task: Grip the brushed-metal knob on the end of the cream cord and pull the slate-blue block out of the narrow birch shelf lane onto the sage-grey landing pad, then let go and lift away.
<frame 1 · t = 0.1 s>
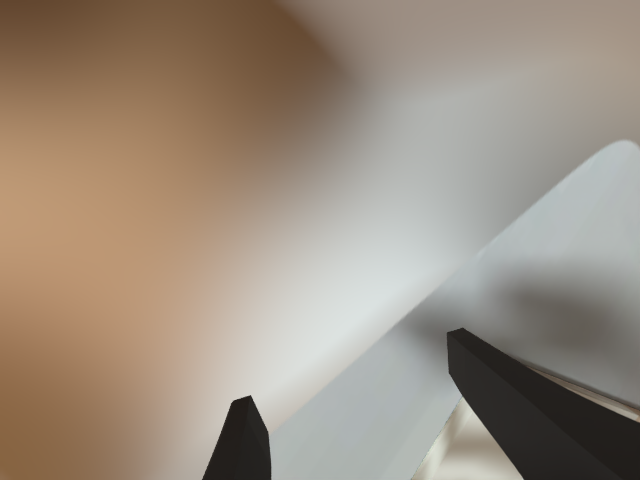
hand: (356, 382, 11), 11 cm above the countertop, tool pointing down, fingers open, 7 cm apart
shelf lane: (550, 461, 29), on the countertop
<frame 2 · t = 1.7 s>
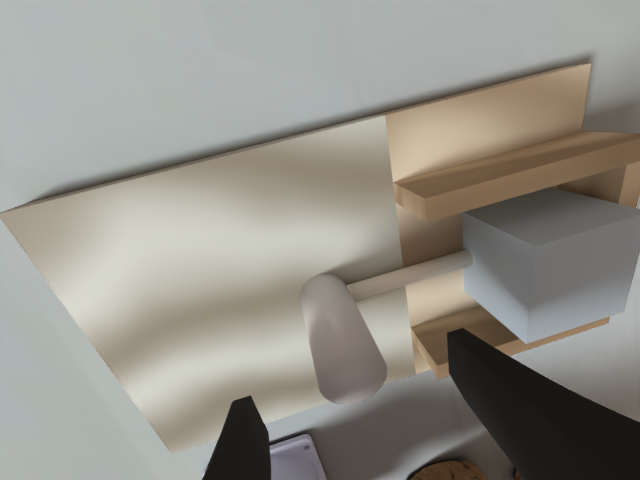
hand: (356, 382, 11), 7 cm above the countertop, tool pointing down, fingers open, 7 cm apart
shelf lane: (343, 273, 17), on the countertop
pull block: (504, 241, 17), point 1 cm above the countertop, touching shelf lane
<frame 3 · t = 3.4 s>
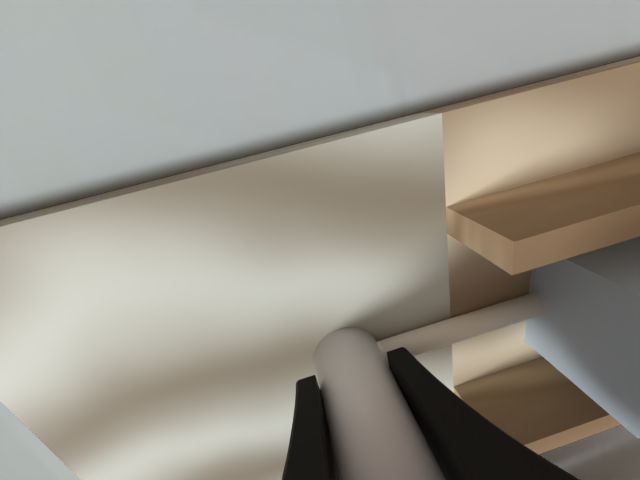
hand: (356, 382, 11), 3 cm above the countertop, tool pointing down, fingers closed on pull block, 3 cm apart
shelf lane: (369, 319, 13), on the countertop
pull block: (581, 279, 13), point 1 cm above the countertop, touching gripper, shelf lane
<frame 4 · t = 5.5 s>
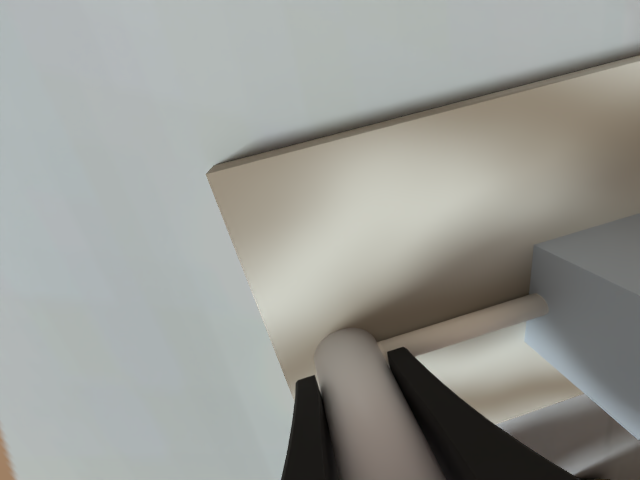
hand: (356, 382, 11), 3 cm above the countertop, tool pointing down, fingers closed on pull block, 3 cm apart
shelf lane: (549, 262, 14), on the countertop
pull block: (582, 280, 13), point 2 cm above the countertop, touching gripper, shelf lane
when the fingers open (3 cm above the countertop, at t = 6.9 s): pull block stays where it is, resting on shelf lane.
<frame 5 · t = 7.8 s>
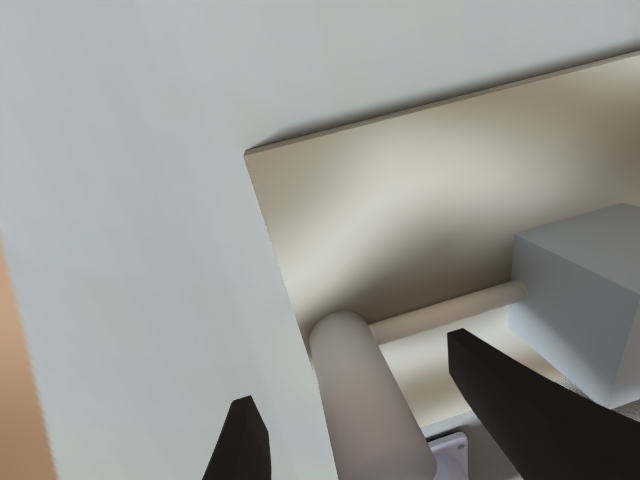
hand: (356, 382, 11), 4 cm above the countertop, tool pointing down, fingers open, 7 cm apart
shelf lane: (551, 247, 15), on the countertop
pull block: (560, 268, 13), point 1 cm above the countertop, touching shelf lane
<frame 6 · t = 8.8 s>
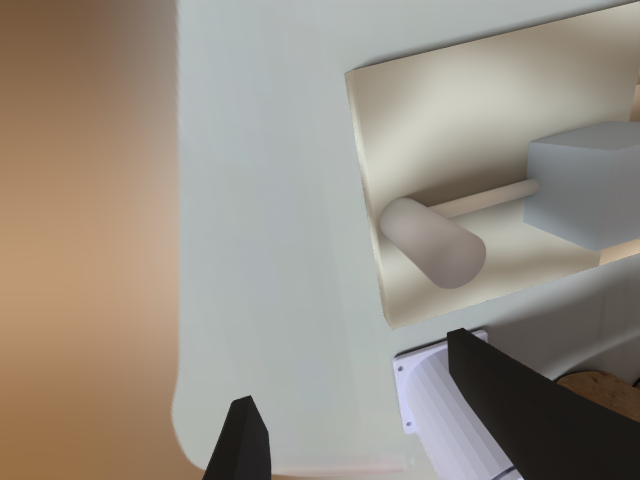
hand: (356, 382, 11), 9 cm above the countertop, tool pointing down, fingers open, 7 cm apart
shelf lane: (555, 164, 20), on the countertop
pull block: (563, 174, 18), point 1 cm above the countertop, touching shelf lane
block: (559, 401, 31), on the countertop
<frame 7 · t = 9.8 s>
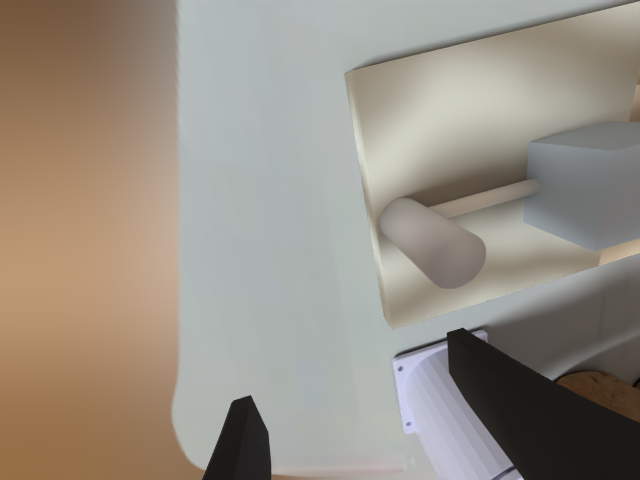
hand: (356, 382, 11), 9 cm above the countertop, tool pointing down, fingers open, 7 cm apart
shelf lane: (555, 164, 20), on the countertop
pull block: (563, 174, 18), point 1 cm above the countertop, touching shelf lane
block: (559, 401, 31), on the countertop
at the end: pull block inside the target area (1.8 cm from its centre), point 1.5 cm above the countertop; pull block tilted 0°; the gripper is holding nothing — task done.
